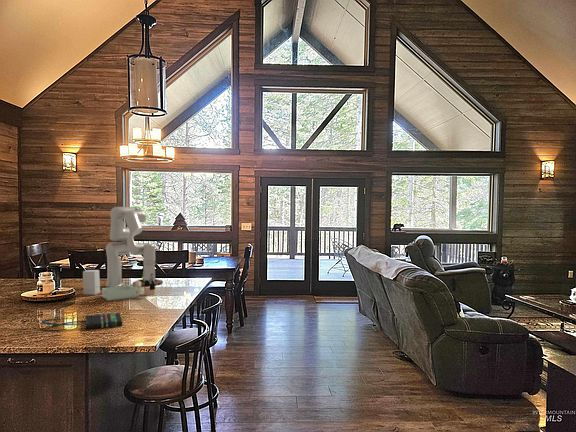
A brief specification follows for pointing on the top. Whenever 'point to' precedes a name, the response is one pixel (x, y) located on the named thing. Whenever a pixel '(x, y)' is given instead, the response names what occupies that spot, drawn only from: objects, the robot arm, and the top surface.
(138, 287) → the birch cylinder
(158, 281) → the plant
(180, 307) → the top surface
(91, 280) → the skincare box
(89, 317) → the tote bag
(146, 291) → the terracotta cube
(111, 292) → the sage tote
